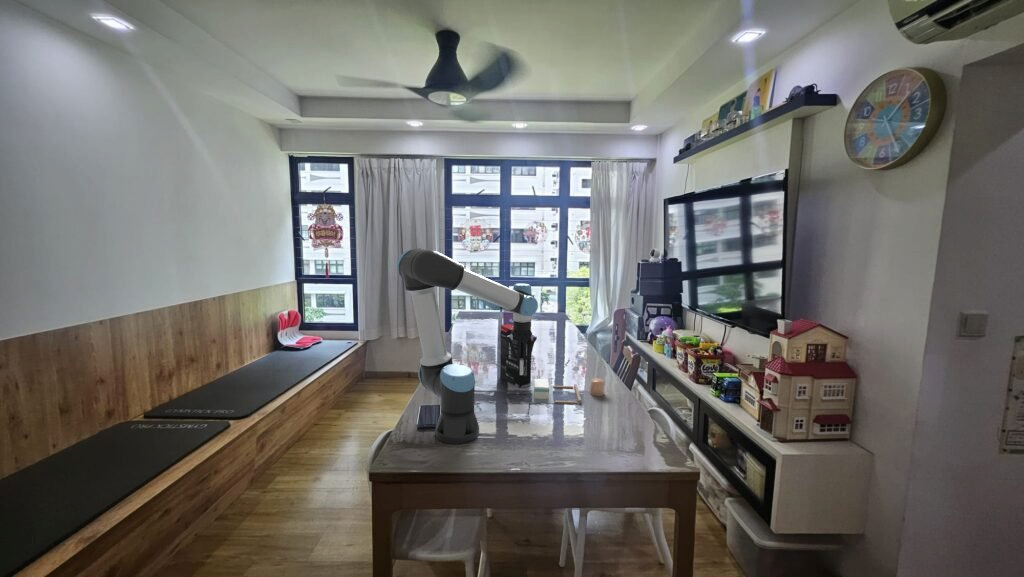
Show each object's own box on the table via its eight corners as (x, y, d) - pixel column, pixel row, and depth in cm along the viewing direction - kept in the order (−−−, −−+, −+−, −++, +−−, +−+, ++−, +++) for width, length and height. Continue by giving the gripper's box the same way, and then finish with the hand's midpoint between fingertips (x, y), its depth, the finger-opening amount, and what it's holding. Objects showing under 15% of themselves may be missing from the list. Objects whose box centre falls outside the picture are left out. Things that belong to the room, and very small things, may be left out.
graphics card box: (531, 389, 187) (533, 330, 183) (519, 392, 183) (520, 332, 179) (510, 377, 201) (511, 323, 197) (498, 380, 197) (499, 324, 193)
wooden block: (604, 396, 180) (605, 383, 179) (591, 395, 180) (592, 382, 180) (602, 391, 186) (603, 378, 185) (589, 390, 186) (589, 377, 185)
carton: (548, 399, 172) (549, 387, 171) (534, 398, 172) (534, 387, 172) (547, 389, 182) (548, 379, 182) (534, 389, 182) (534, 378, 182)
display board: (580, 407, 168) (581, 400, 167) (531, 405, 169) (532, 398, 168) (576, 390, 186) (576, 384, 185) (531, 389, 187) (532, 382, 186)
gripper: (537, 318, 177) (536, 371, 180) (507, 318, 177) (507, 370, 181) (537, 322, 169) (536, 377, 173) (506, 322, 170) (505, 376, 173)
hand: (521, 373), depth 177 cm, fingers closed
